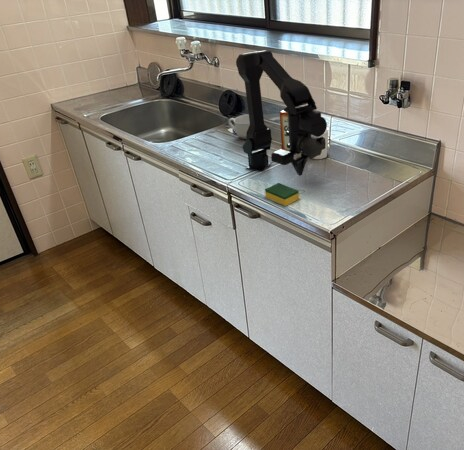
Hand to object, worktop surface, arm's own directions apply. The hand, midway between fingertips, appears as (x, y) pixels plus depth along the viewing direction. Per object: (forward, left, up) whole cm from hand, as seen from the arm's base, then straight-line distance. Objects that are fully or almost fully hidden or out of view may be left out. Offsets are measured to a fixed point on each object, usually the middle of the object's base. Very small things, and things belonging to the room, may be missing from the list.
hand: (300, 175), depth 151 cm
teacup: (-45, +36, -1) cm, 57 cm away
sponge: (-2, -8, -5) cm, 10 cm away
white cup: (-7, +28, -5) cm, 29 cm away
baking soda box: (-17, +30, -5) cm, 34 cm away
